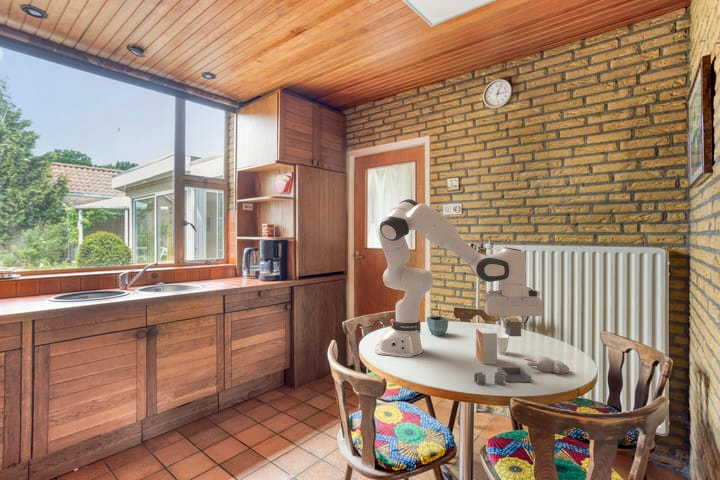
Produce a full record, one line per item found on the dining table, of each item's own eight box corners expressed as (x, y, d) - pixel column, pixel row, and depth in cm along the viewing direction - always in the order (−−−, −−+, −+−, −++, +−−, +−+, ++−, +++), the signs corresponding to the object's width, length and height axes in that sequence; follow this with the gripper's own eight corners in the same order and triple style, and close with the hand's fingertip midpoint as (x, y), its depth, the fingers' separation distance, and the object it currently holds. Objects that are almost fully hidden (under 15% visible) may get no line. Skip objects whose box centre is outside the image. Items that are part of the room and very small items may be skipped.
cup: (509, 356, 152) (509, 338, 152) (485, 353, 156) (485, 335, 156) (509, 351, 158) (509, 334, 158) (486, 348, 162) (486, 332, 162)
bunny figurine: (572, 367, 129) (529, 358, 133) (570, 380, 129) (527, 371, 133) (564, 358, 138) (524, 351, 142) (562, 370, 138) (522, 363, 142)
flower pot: (426, 333, 190) (426, 317, 190) (440, 331, 192) (440, 315, 192) (434, 337, 181) (434, 320, 181) (449, 336, 184) (449, 319, 184)
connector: (509, 336, 126) (509, 320, 126) (505, 332, 131) (505, 316, 131) (521, 336, 126) (521, 320, 126) (516, 332, 131) (516, 317, 131)
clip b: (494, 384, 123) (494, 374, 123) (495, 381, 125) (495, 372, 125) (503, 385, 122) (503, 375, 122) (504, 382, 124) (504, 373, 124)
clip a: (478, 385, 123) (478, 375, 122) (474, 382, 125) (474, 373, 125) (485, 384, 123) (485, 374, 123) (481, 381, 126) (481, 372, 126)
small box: (475, 357, 151) (475, 328, 151) (490, 357, 151) (490, 328, 151) (482, 364, 143) (482, 333, 143) (497, 364, 143) (497, 333, 143)
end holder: (505, 382, 125) (505, 375, 125) (497, 372, 134) (497, 366, 134) (530, 382, 124) (530, 376, 124) (521, 373, 133) (521, 366, 133)
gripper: (487, 291, 126) (487, 329, 126) (544, 292, 125) (544, 330, 125) (482, 289, 133) (482, 324, 133) (537, 289, 131) (537, 325, 131)
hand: (513, 327), depth 129 cm, fingers closed on connector, 4 cm apart
